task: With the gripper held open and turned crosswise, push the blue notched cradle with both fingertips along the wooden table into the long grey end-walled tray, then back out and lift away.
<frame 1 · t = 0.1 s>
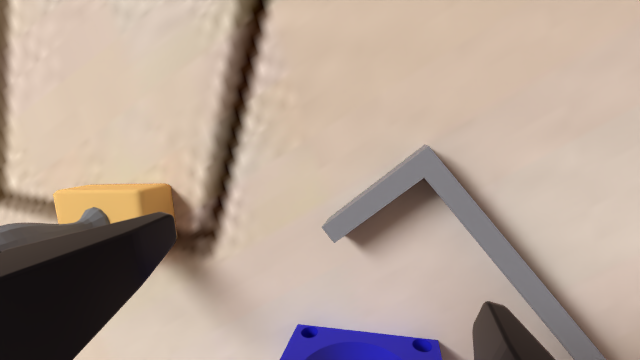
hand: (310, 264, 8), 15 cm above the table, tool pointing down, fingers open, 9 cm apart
long grey end-walled tray: (460, 304, 22), on the table
blue notched cradle: (364, 352, 26), on the table
rubber stamp: (135, 211, 29), on the table
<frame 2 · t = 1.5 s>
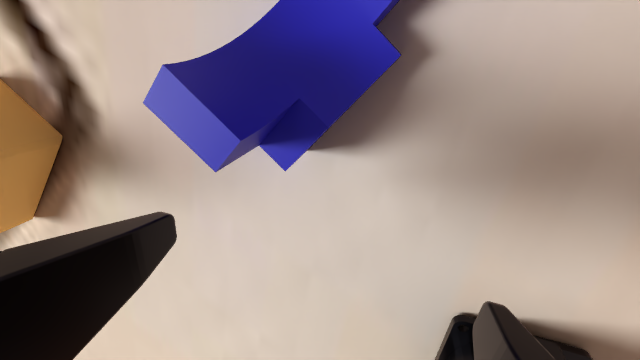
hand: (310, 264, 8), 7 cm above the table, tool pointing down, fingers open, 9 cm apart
blue notched cradle: (364, 13, 12), on the table
rubber stamp: (22, 154, 21), on the table
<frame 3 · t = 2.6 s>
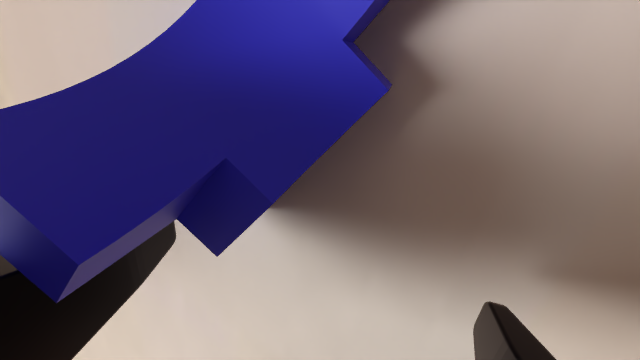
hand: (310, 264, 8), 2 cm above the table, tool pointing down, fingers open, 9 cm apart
blue notched cradle: (336, 21, 8), on the table, touching gripper
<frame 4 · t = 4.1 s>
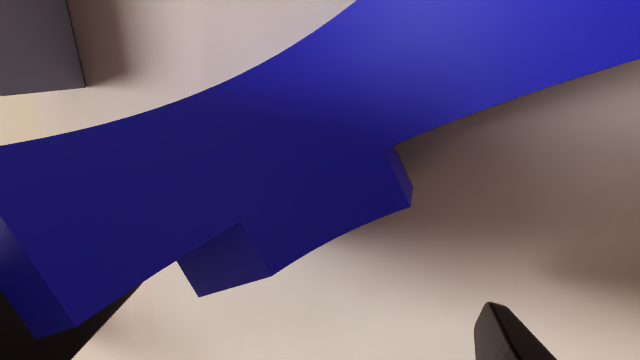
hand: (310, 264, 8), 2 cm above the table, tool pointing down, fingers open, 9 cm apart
blue notched cradle: (379, 113, 8), on the table, touching gripper
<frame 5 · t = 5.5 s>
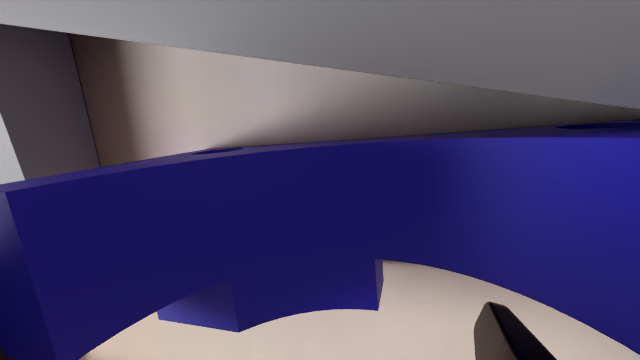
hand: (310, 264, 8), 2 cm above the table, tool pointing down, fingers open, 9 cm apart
long grey end-walled tray: (336, 196, 9), on the table
blue notched cradle: (380, 210, 9), on the table, touching gripper
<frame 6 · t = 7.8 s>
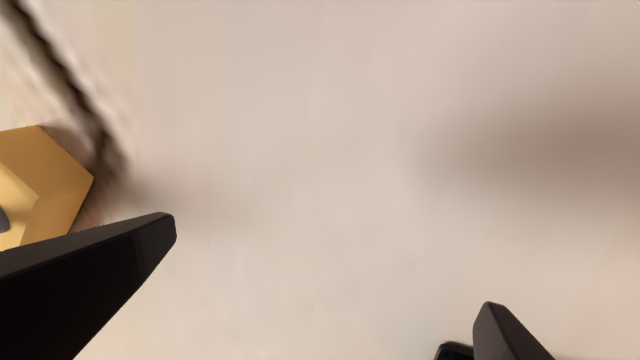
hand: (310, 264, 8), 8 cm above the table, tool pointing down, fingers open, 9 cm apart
rubber stamp: (54, 189, 23), on the table
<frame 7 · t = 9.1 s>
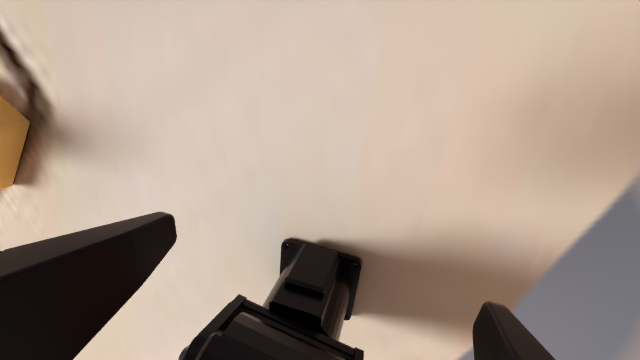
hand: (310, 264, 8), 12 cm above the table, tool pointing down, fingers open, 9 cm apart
rubber stamp: (3, 136, 29), on the table
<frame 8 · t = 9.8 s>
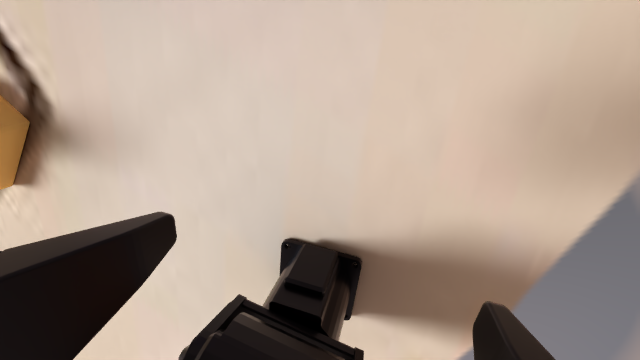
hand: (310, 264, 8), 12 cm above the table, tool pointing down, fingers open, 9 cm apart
rubber stamp: (3, 136, 29), on the table
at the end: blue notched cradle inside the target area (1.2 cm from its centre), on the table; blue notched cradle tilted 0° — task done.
